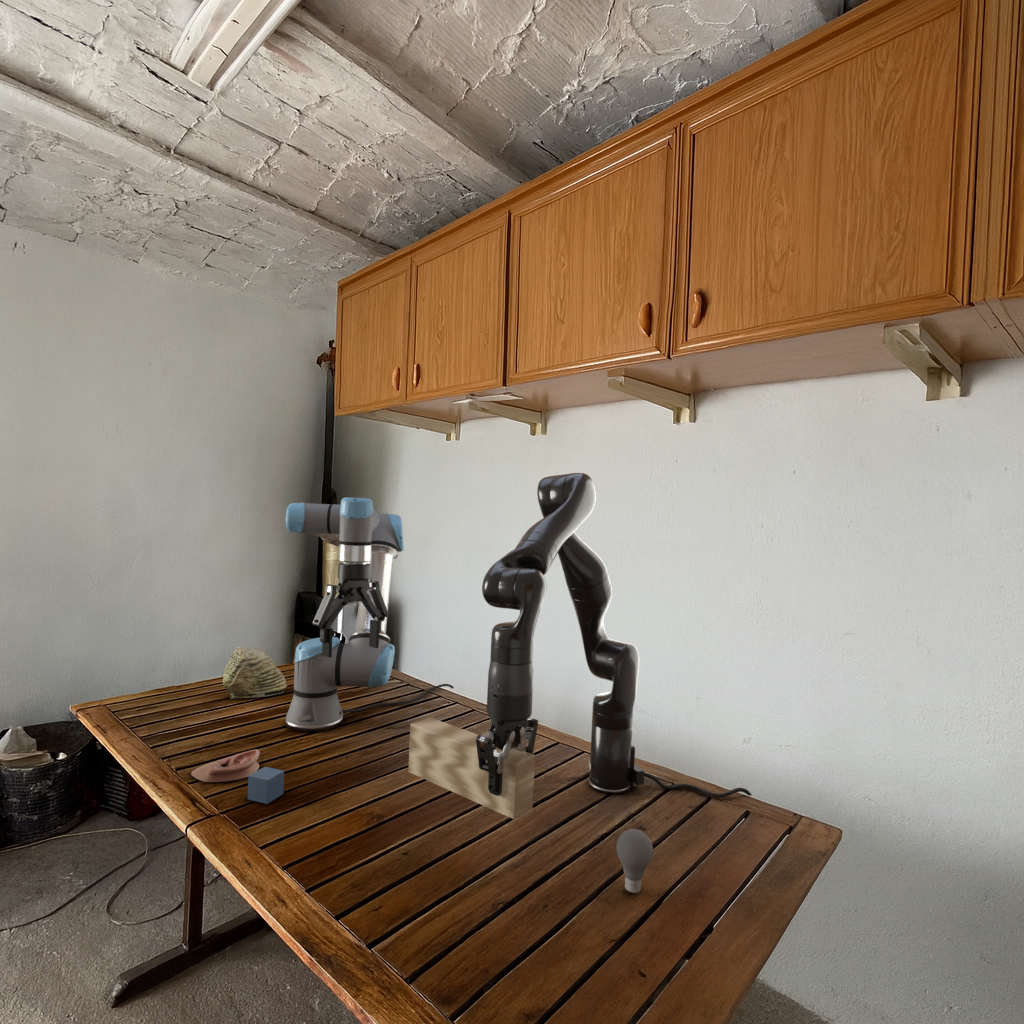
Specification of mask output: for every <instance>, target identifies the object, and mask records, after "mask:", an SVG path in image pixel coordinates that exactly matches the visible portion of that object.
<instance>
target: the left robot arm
mask: <svg viewBox="0 0 1024 1024" xmlns="http://www.w3.org/2000/svg"><path fill="white" fill-rule="evenodd" d="M285 527H286V529H287V531H288V532H289V533H298V534H310V535H313V536H315V537H319V538H321V540H322V541H323V542H325V543H327V544H328V545H329V544H330V545H332V546H335V547H337V548H338V559H337V560H338V561H339V562H338V564H337V578H338V584H337V585H336V584H330V583H328V584H326V585H325V593H324V596H323V598H322V600H321V602H320V605H319V607H318V610H317V611H316V614H315V616H314V618H313V621H312V626H315V627H318V628H319V637H315V638H310V639H307V640H304V641H302V642H300V643H298V645H296V648H295V655H294V660H293V662H294V672H293V695H292V696H293V697H292V699H291V702H290V704H289V708H288V711H287V713H286V715H285V726H286V728H287V729H289V730H291V731H294V732H295V731H296V732H301V733H316V732H325V731H329V730H332V729H335V728H337V727H339V726H340V725H342V723H343V722H344V713H356V712H361V711H364V710H368V709H372V708H375V707H381V706H397V705H404V704H409V703H412V702H415V701H417V700H420V699H422V698H423V697H425V696H426V694H427V693H429V692H431V691H433V690H436V689H439V688H442V687H448V688H450V689H454V688H455V687H454V686H453V685H452V684H450V683H441V684H439V685H436V686H433V687H430V688H427V689H426V690H425V691H424V692H423V693H422V694H420V695H417V696H416V697H413V698H411V699H407V700H402V701H392V702H391V701H390V702H380V703H379V702H378V703H374V704H369V705H367V706H363V707H359V708H352V709H350V708H349V709H342V706H341V702H340V699H339V695H338V687H357V688H358V687H360V688H368V689H369V688H370V689H371V688H376V687H377V688H379V687H384V686H385V685H387V684H388V682H389V680H390V677H391V675H392V670H393V666H394V661H395V652H396V650H395V649H396V648H395V645H394V644H392V643H391V637H389V636H388V635H387V634H386V632H387V624H388V623H387V622H388V618H389V602H390V592H391V580H392V571H393V570H392V569H393V562H394V561H395V560H396V559H397V558H398V557H399V553H401V552H403V551H404V546H405V545H404V533H403V532H404V531H403V520H402V517H401V516H400V515H398V514H393V513H388V512H386V513H378V512H377V511H376V509H375V508H374V502H373V499H371V498H366V497H343V498H342V499H341V500H340V504H334V503H333V504H329V503H328V504H327V503H311V502H304V501H303V502H292V503H289V505H288V506H287V507H286V512H285ZM355 602H358V607H357V615H356V621H355V622H356V623H355V631H354V632H353V633H351V634H350V635H349V636H348V642H347V643H341V641H340V638H339V637H337V636H333V633H334V631H333V630H334V628H333V627H331V626H332V625H333V623H334V622H335V620H336V619H337V618H338V616H339V614H340V613H341V612H342V610H343V609H344V607H345V606H346V605H348V603H349V604H350V603H351V604H352V603H355Z"/></svg>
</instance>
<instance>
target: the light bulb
mask: <svg viewBox="0 0 1024 1024" xmlns="http://www.w3.org/2000/svg"><path fill="white" fill-rule="evenodd" d="M615 849H616V854H617V857H618V859H619V861H620V863H621V865H622V867H623V873H624V874H623V875H624V876H625V878H624V888H625V890H627V891H628V892H630V893H634V894H635V893H639V892H640V891H641V889H642V887H641V886H642V879H643V877H644V875H645V871H646V868H647V867H648V866H649V864H650V863H651V861H652V859H653V855H654V847H653V843H652V841H651V838H649V836H648V835H647V834H646V833H645V832H643V831H642V830H641V829H636V828H629V829H627V830H625V831H623V832H622V833H621V834H620V835H619V837H618V839H617V841H616V847H615Z"/></svg>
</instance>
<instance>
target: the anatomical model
mask: <svg viewBox="0 0 1024 1024" xmlns="http://www.w3.org/2000/svg"><path fill="white" fill-rule="evenodd" d="M260 754H261V752H260V749H257V748H256V749H251V750H247V751H243V752H240V753H236V754H234V755H231V756H228V757H225V758H222V759H219V760H216V761H211V762H209V763H206V764H204V765H201V766H198V767H197V768H195V769H193V770H192V771H191V773H190V775H191V776H192V777H193V778H194V779H196V780H198V781H201V782H203V783H221V782H230V781H231V782H233V781H237V780H241V779H246V778H248V777H249V775H251V774H253V773H254V772H256V771H258V770H260V769H259V768H260V764H259V762H258V759H259V757H260Z"/></svg>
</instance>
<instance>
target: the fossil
mask: <svg viewBox="0 0 1024 1024" xmlns="http://www.w3.org/2000/svg"><path fill="white" fill-rule="evenodd" d="M222 676H223V677H222V685H223V687H224V688H225V690H226V691H228V693H229V698H230V699H250V698H264V697H271V696H275V695H281V694H284V693H285V691H286V689H287V687H288V686H287V680H286V678H285V676H284V674H283V673H282V672H281V669H279V668H278V667H277V665H276V663H275V662H274V660H273V659H272V658H271V657H270V656H269V655H268V654H267V653H266V652H265V650H264V649H263V648H260V647H258V648H251V647H247V646H246V647H245V646H238V647H237V648H236V649H235V650H233V651H232V653H231V656H230V657H229V659H228V660H227V663H226V666H225V668H224V671H223V675H222Z"/></svg>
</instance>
